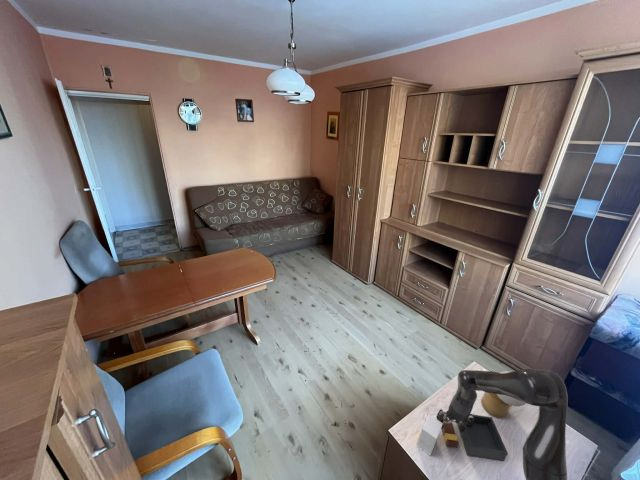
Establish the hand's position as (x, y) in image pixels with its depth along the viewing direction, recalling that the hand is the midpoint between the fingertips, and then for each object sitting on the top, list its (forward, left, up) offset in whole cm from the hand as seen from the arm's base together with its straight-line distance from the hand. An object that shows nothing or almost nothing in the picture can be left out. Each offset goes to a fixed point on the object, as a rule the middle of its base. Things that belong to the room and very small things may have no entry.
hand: (450, 428), depth 117 cm
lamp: (+15, -28, -5) cm, 32 cm away
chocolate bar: (0, 0, -5) cm, 5 cm away
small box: (-5, +11, -5) cm, 13 cm away
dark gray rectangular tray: (0, -13, -5) cm, 14 cm away
